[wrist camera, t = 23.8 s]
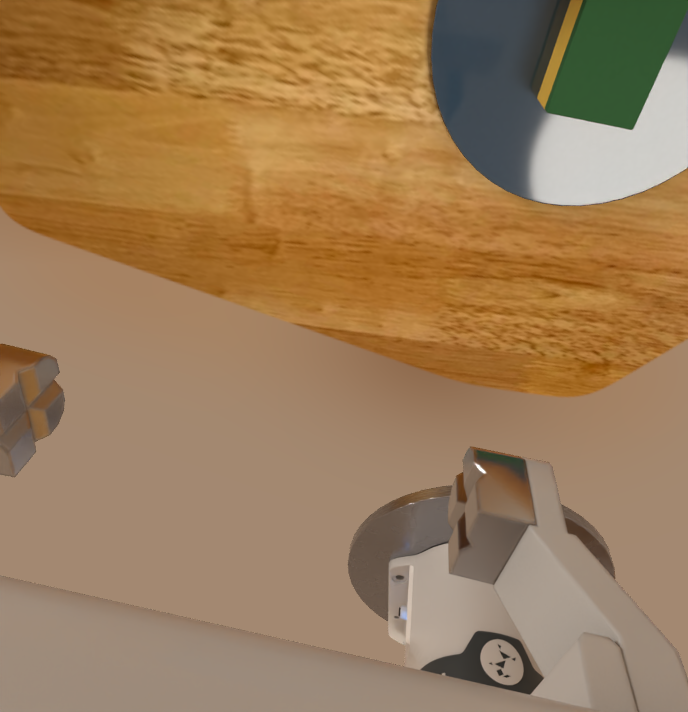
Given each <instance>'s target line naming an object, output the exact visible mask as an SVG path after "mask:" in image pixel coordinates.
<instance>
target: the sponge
mask: <svg viewBox="0 0 688 712" xmlns="http://www.w3.org/2000/svg"><path fill="white" fill-rule="evenodd" d="M687 10H688V0H571V1H570V4H569V7H568V9H567V12H566V15H565V18H564V21H563V24H562V27H561V30H560V33H559V36H558V39H557V42H556V44H555V47H554V50H553V53H552V56H551V59H550V62H549V65H548V68H547V71H546V74H545V77H544V79H543V82H542V85H541V88H540V91H539V94H538V97H537V99H538V100H539V102H540V103H541V105H542V106H543V108H544V109H545V111H546V112H547V113H550V114H555V115H560V116H565V117H570V118H575V119H580V120H585V121H590V122H594V123H599V124H604V125H609V126H614V127H619V128H624V129H629V130H633V129H634V127H635V124H636V122H637V120H638V118H639V116H640V113H641V111H642V109H643V107H644V105H645V102H646V100H647V98H648V96H649V94H650V92H651V89H652V87H653V85H654V83H655V81H656V78H657V76H658V74H659V72H660V70H661V67H662V65H663V63H664V61H665V59H666V56H667V54H668V52H669V50H670V48H671V45H672V43H673V41H674V39H675V37H676V34H677V32H678V30H679V28H680V26H681V23H682V21H683V19H684V17H685V15H686V12H687Z"/></svg>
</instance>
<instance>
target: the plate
mask: <svg viewBox="0 0 688 712" xmlns="http://www.w3.org/2000/svg"><path fill="white" fill-rule="evenodd" d="M570 1H571V0H438V2H437V6H436V12H435V18H434V24H433V31H432V49H431V63H432V76H433V84H434V89H435V94H436V99H437V103H438V106H439V109H440V112H441V115H442V118H443V121H444V123H445V125H446V127H447V129H448V131H449V133H450V135H451V137H452V139H453V141H454V142H455V144H456V145H457V147H458V148H459V150H460V151H461V153H462V154H463V155H464V157H465V158H466V159H467V160H468V161H469V162H470V163H471V164H472V165H473V166H474V168H475V169H476V170H477V171H479V172H480V173H481V174H482V175H484V176H485V177H486V178H487V179H488V180H490V181H491V182H493V183H494V184H496V185H498V186H499V187H501V188H503V189H504V190H506V191H508V192H510V193H513V194H515V195H517V196H520V197H522V198H525V199H528V200H532V201H536V202H540V203H544V204H552V205H559V206H584V205H594V204H602V203H606V202H611V201H615V200H620V199H624V198H626V197H629V196H632V195H635V194H638V193H641V192H644V191H646V190H648V189H650V188H653V187H655V186H657V185H659V184H661V183H663V182H665V181H667V180H669V179H670V178H672V177H674V176H676V175H677V174H679V173H681V172H682V171H684V170H686V169H687V168H688V10H687V12H686V15H685V17H684V19H683V21H682V23H681V26H680V28H679V30H678V32H677V34H676V37H675V39H674V41H673V43H672V45H671V48H670V50H669V52H668V54H667V56H666V59H665V61H664V63H663V65H662V67H661V70H660V72H659V74H658V76H657V78H656V81H655V83H654V85H653V87H652V89H651V92H650V94H649V96H648V98H647V100H646V102H645V105H644V107H643V109H642V111H641V113H640V116H639V118H638V120H637V122H636V124H635V127H634V129H633V130H629V129H624V128H619V127H614V126H609V125H604V124H599V123H594V122H590V121H585V120H580V119H575V118H570V117H565V116H560V115H555V114H550V113H547V112H546V111H545V109H544V108H543V106H542V105H541V103H540V102H539V100H538V99H537V97H538V94H539V91H540V88H541V85H542V82H543V79H544V77H545V74H546V71H547V68H548V65H549V62H550V59H551V56H552V53H553V50H554V47H555V44H556V42H557V39H558V36H559V33H560V30H561V27H562V24H563V21H564V18H565V15H566V12H567V9H568V7H569V4H570Z"/></svg>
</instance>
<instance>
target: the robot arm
mask: <svg viewBox="0 0 688 712" xmlns="http://www.w3.org/2000/svg"><path fill="white" fill-rule="evenodd" d="M58 374H59V367H58V363H57V360H56V358H54V357H52V356H50V355H47V354H43V353H39V352H35V351H30V350H26V349H22V348H18V347H14V346H10V345H6V344H0V474H1V475H6V476H11V477H16V475H17V474H18V473H19V471H21V469H22V468H23V467H24V466H25V465H26V463H27V462H28V461H29V460H30V459H31V457H32V456H33V455H34V454H35V452H36V446H35V442H36V441H38V440H40V439H43V438H45V437H47V436H49V435H50V434H51V433H52V432H53V430H54V429H55V428H56V427H57V425H58V424H59V421H60V419H61V416H62V414H63V411H64V402H65V398H64V392H63V389H62V388H61V387H60V386H59V385H58V384H57V382H56V381H55V380H54V378H55V377H56V376H57V375H58ZM448 524H449V525H450V527H451V528H452V530H453V533H452V535H451V537H450V540H449V542H448V543H446V544H442V545H438V546H435V547H433V548H430V549H428V550H426V551H424V552H422V553H420V554H417V555H413V556H405V557H399V558H395V559H392V560H391V561H390V562H389V575H388V634H389V636H390V637H391V638H393V639H394V640H396V641H398V642H399V643H401V644H403V645H406V646H405V666H400V665H396V664H391V663H387V662H382V661H378V660H373V659H369V658H364V657H360V656H356V655H351V654H347V653H342V652H338V651H333V650H329V649H325V648H320V647H316V646H311V645H307V644H302V643H298V642H294V641H289V640H285V639H280V638H276V637H271V636H267V635H262V634H258V633H254V632H249V631H245V630H240V629H236V628H231V627H226V626H223V625H218V624H214V623H209V622H205V621H200V620H196V619H191V618H187V617H183V616H178V615H173V614H169V613H165V612H160V611H156V610H152V609H147V608H143V607H138V606H134V605H129V604H125V603H120V602H116V601H112V600H107V599H103V598H98V597H94V596H89V595H85V594H80V593H76V592H72V591H67V590H63V589H58V588H54V587H49V586H45V585H41V584H36V583H32V582H27V581H23V580H18V579H14V578H10V577H5V576H0V712H688V678H687V675H686V672H685V670H684V666H683V664H682V661H681V658H680V655H679V652H678V651H677V649H676V648H675V647H674V646H673V645H672V644H671V643H670V641H669V640H668V639H667V638H666V637H665V636H664V635H663V634H662V632H661V631H660V630H659V629H658V628H657V627H656V626H655V624H654V623H653V622H652V621H651V620H650V619H649V618H648V616H647V615H646V614H645V613H644V612H643V611H642V610H641V609H640V608H639V606H638V605H637V604H636V603H635V602H634V601H633V599H632V598H631V597H630V596H629V595H628V594H627V593H626V592H625V590H623V588H622V587H621V586H620V585H619V584H618V582H617V581H616V580H615V579H614V578H613V577H612V576H611V575H610V573H609V572H608V571H607V570H606V569H605V568H604V567H603V565H602V564H601V563H600V562H599V561H598V560H597V559H596V557H595V556H594V555H593V554H592V553H591V552H590V551H589V550H588V548H587V547H586V546H585V545H584V544H583V543H582V542H581V540H580V539H579V538H578V537H577V536H576V535H573V534H569V533H568V532H567V527H566V523H565V519H564V515H563V510H562V506H561V503H560V498H559V493H558V489H557V485H556V480H555V476H554V472H553V467H552V466H551V464H550V463H549V462H546V461H541V460H535V459H531V458H525V457H522V458H521V457H519V456H514V455H510V454H505V453H500V452H495V451H491V450H486V449H480V448H476V447H470V448H469V449H468V450H467V452H466V454H465V457H464V459H463V472H462V473H460V474H459V475H457V476H456V478H455V481H454V483H453V486H452V489H451V493H450V498H449V504H448Z"/></svg>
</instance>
